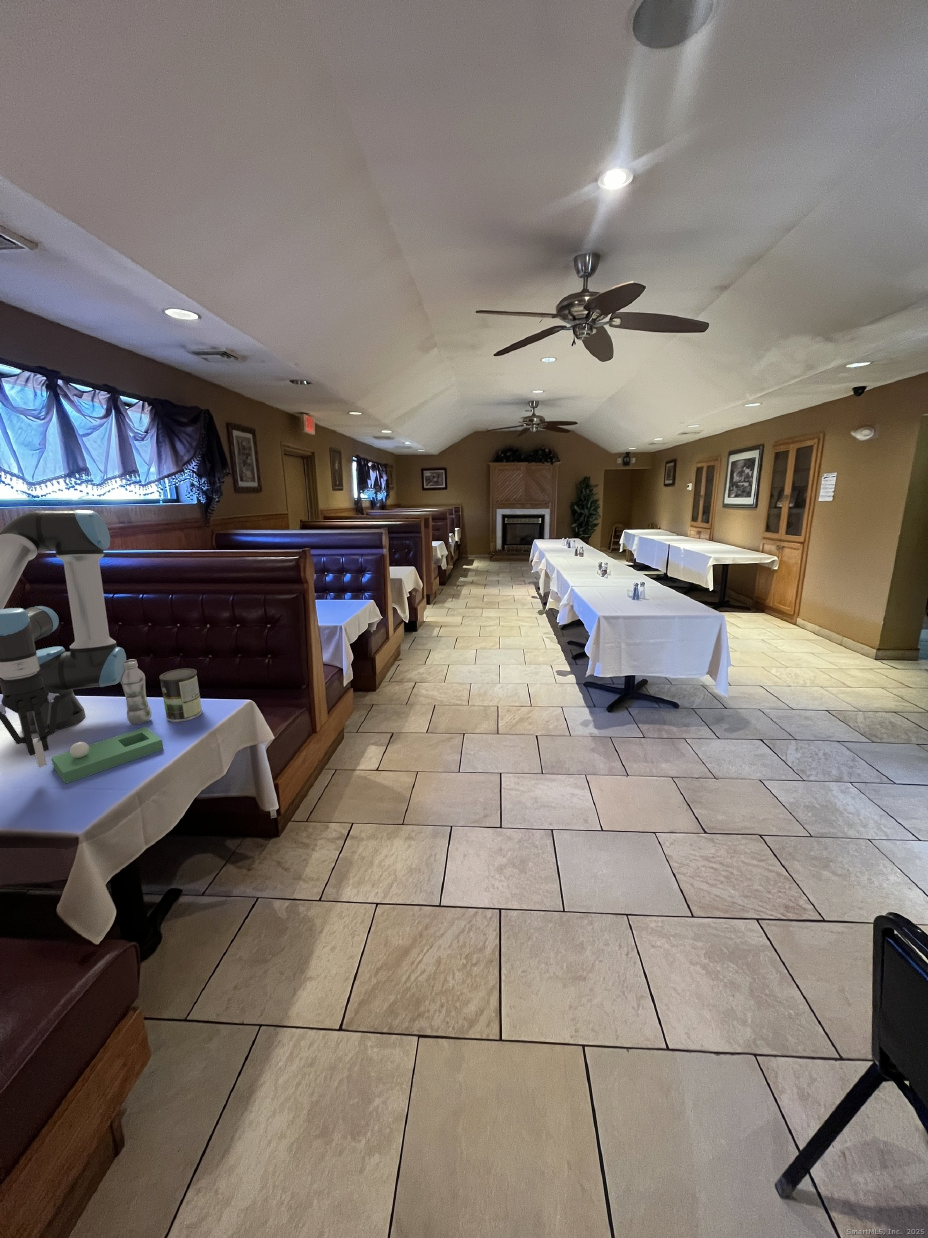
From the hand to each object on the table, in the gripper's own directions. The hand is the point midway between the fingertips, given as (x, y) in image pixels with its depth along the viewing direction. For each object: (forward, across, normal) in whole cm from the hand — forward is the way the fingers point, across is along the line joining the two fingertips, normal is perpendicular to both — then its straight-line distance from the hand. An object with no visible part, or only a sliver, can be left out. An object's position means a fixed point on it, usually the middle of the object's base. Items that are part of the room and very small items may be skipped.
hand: (41, 764), depth 122 cm
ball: (-1, +8, 0) cm, 8 cm away
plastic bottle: (+5, +27, +18) cm, 33 cm away
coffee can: (+5, +38, +13) cm, 40 cm away
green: (+4, +14, 0) cm, 14 cm away
